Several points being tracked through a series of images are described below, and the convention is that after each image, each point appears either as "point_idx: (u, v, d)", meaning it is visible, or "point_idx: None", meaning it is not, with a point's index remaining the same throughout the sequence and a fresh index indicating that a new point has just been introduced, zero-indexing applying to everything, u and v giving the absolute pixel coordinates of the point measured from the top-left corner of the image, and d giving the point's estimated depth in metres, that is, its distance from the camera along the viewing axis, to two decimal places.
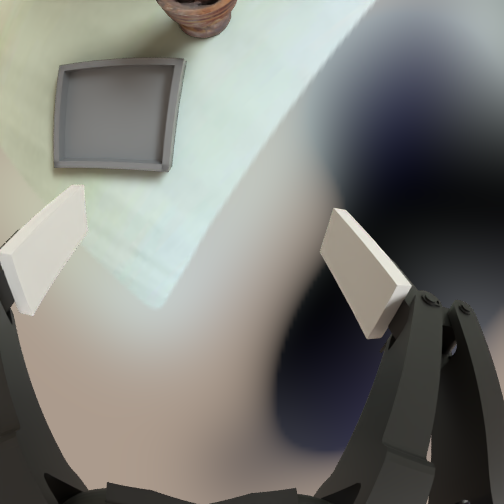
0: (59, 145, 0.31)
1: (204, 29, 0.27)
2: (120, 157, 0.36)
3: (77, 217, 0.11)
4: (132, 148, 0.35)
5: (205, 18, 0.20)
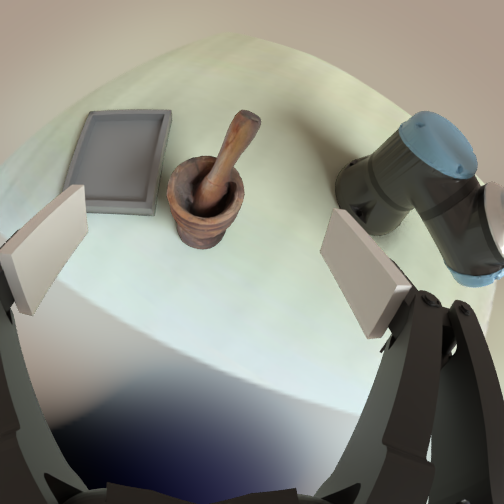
0: (104, 115, 0.40)
1: None
2: (80, 167, 0.39)
3: (77, 217, 0.11)
4: (84, 176, 0.39)
5: (169, 204, 0.30)
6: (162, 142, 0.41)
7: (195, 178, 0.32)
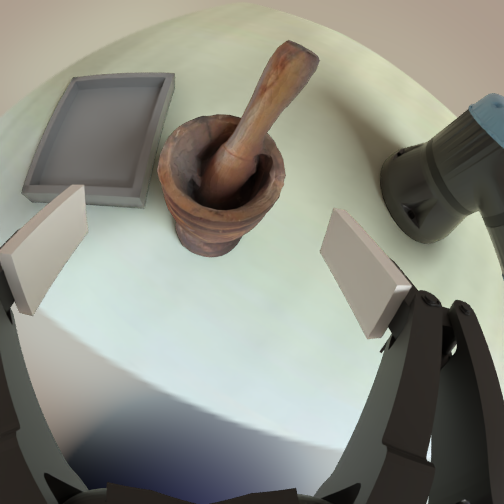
0: (90, 81, 0.28)
1: None
2: (54, 144, 0.27)
3: (77, 217, 0.11)
4: (57, 155, 0.27)
5: None
6: (160, 110, 0.29)
7: (205, 150, 0.20)
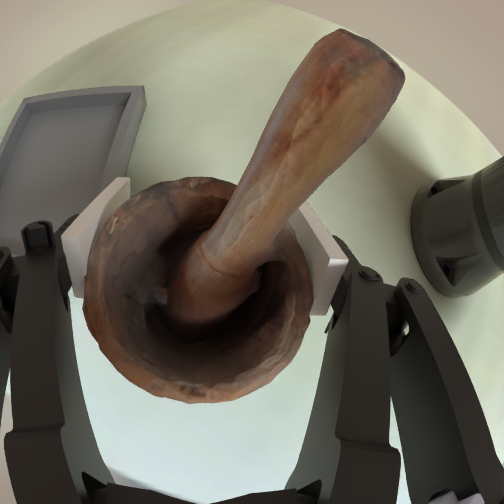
0: (42, 102, 0.20)
1: None
2: (1, 189, 0.19)
3: None
4: (5, 205, 0.19)
5: None
6: (121, 141, 0.21)
7: (172, 238, 0.12)
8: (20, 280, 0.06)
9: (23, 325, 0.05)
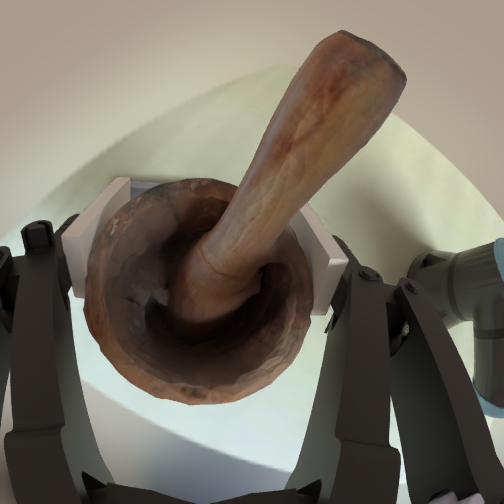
0: (143, 188, 0.35)
1: None
2: None
3: None
4: None
5: None
6: None
7: (172, 239, 0.12)
8: (20, 280, 0.06)
9: (23, 325, 0.05)
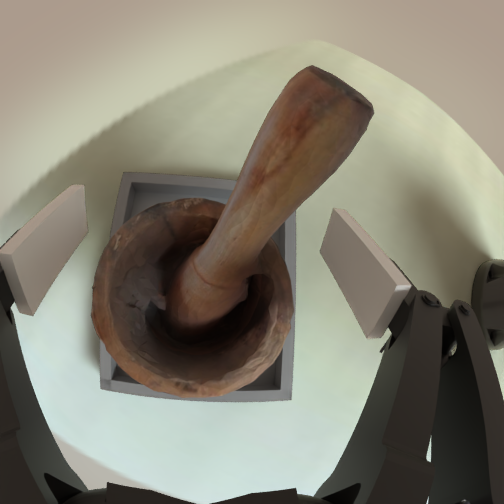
0: (157, 184, 0.23)
1: None
2: None
3: (77, 217, 0.11)
4: None
5: None
6: (293, 265, 0.24)
7: (169, 250, 0.13)
8: None
9: None
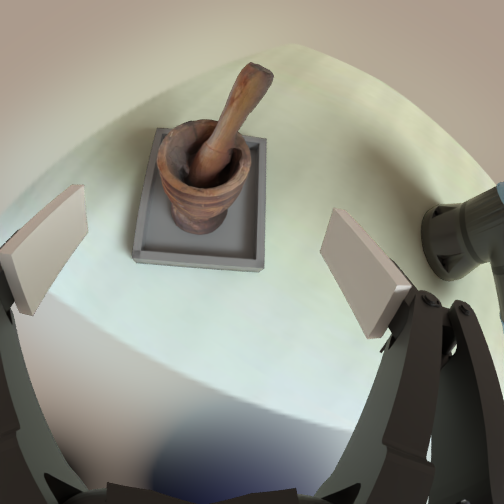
0: None
1: None
2: (152, 203, 0.35)
3: (77, 217, 0.11)
4: (160, 217, 0.35)
5: (160, 174, 0.24)
6: (264, 181, 0.37)
7: (193, 146, 0.26)
8: None
9: None
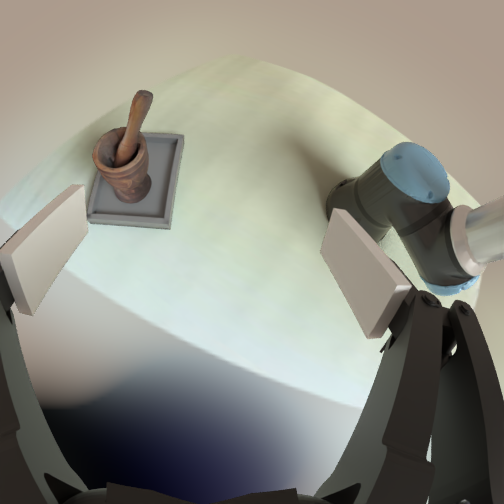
0: None
1: None
2: (103, 183, 0.47)
3: (77, 217, 0.11)
4: (107, 192, 0.47)
5: None
6: (177, 165, 0.49)
7: (118, 144, 0.39)
8: None
9: None
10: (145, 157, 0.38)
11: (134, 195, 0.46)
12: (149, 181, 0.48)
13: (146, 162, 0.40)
